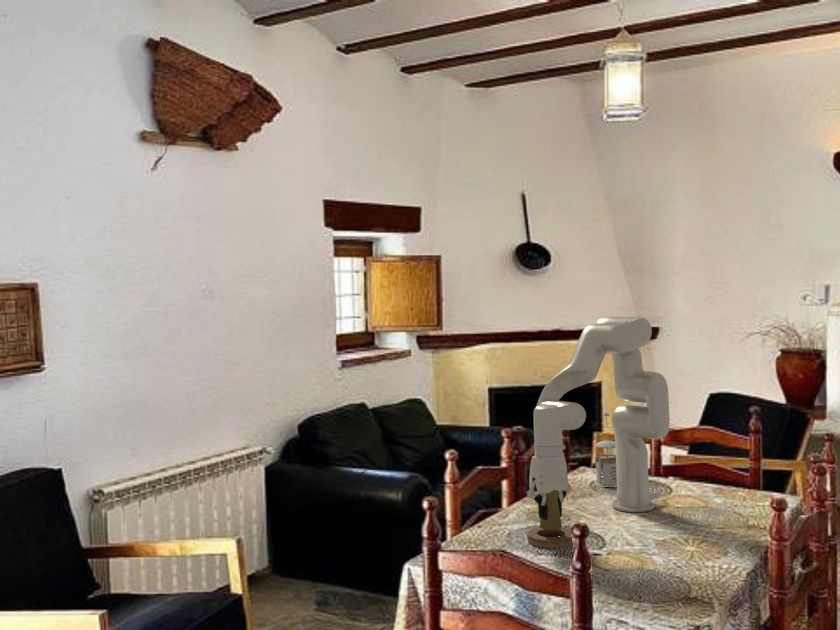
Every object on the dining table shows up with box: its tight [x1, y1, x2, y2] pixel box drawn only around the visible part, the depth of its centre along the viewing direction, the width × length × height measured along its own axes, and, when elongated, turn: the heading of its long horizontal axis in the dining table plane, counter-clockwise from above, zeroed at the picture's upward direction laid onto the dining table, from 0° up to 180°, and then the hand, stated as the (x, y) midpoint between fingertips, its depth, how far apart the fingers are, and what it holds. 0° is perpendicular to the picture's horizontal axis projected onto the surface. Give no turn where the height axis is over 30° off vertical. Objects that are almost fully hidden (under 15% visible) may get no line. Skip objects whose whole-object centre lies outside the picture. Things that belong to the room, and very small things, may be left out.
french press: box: [594, 412, 617, 487], centre depth 282 cm, size 10×12×25 cm
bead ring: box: [526, 526, 573, 549], centre depth 225 cm, size 13×13×2 cm
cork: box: [539, 490, 563, 530], centre depth 224 cm, size 6×6×11 cm
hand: (550, 516), depth 224 cm, fingers closed on cork, 4 cm apart
